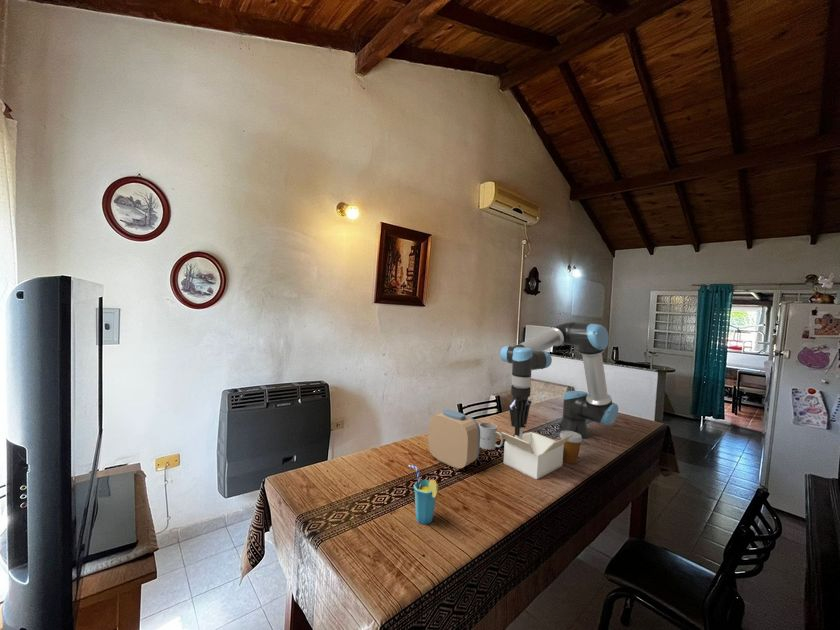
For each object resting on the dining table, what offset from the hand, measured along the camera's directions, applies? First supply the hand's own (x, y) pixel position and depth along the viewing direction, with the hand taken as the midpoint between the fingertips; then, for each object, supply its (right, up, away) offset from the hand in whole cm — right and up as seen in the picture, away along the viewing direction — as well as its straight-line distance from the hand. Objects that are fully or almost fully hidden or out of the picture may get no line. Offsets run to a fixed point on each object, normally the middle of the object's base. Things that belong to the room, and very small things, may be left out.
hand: (518, 442), depth 136 cm
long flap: (+16, 0, -1) cm, 16 cm away
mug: (-7, -12, +24) cm, 27 cm away
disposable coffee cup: (+27, -14, +14) cm, 33 cm away
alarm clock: (-26, -11, +7) cm, 29 cm away
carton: (+9, -13, +8) cm, 17 cm away
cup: (-40, -12, -31) cm, 52 cm away
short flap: (0, 0, 0) cm, 1 cm away
